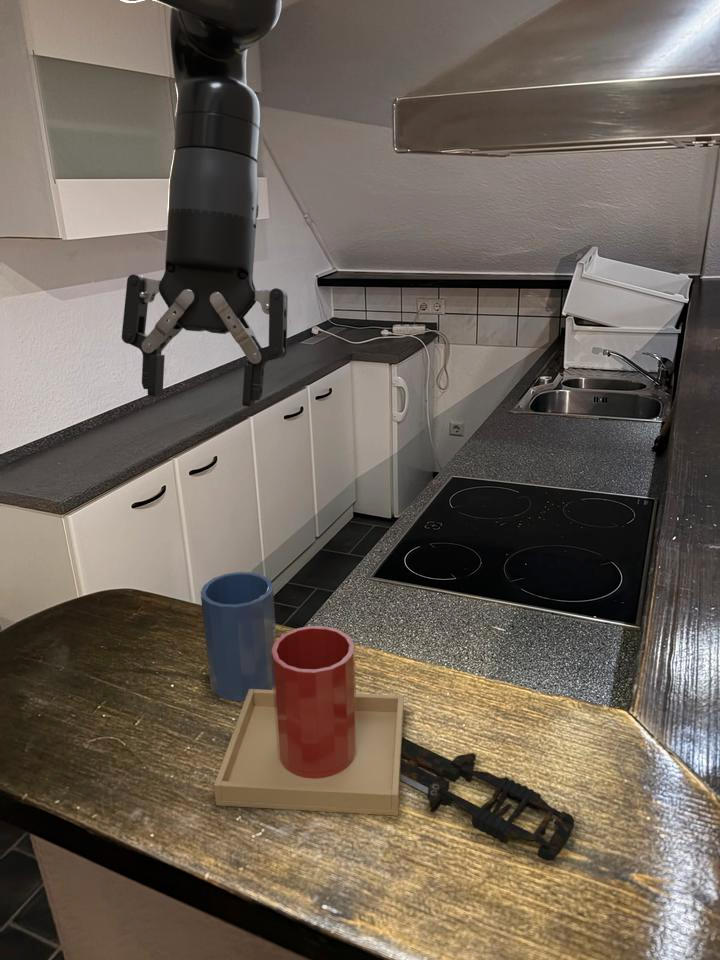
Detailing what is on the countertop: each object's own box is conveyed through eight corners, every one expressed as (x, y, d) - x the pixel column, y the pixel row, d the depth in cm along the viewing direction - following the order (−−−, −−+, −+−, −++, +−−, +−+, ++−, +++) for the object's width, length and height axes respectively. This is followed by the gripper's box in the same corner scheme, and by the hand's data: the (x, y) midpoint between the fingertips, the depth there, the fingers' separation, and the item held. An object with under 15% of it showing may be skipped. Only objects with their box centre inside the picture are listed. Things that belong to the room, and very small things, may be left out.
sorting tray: (215, 805, 59) (213, 785, 58) (250, 707, 70) (248, 688, 69) (397, 816, 57) (398, 795, 57) (403, 713, 69) (403, 695, 68)
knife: (287, 725, 68) (286, 712, 68) (337, 691, 73) (337, 679, 72) (538, 883, 52) (539, 868, 52) (582, 827, 57) (584, 813, 56)
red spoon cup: (271, 776, 61) (263, 670, 57) (285, 723, 67) (280, 624, 63) (352, 781, 60) (350, 674, 57) (359, 726, 66) (358, 627, 63)
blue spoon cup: (202, 699, 71) (192, 605, 67) (220, 659, 77) (211, 571, 73) (270, 702, 70) (264, 607, 67) (283, 661, 76) (278, 573, 73)
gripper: (115, 197, 62) (108, 396, 65) (287, 213, 62) (272, 412, 65) (146, 213, 70) (138, 391, 73) (300, 227, 69) (286, 406, 72)
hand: (201, 401), depth 69 cm, fingers open, 8 cm apart
